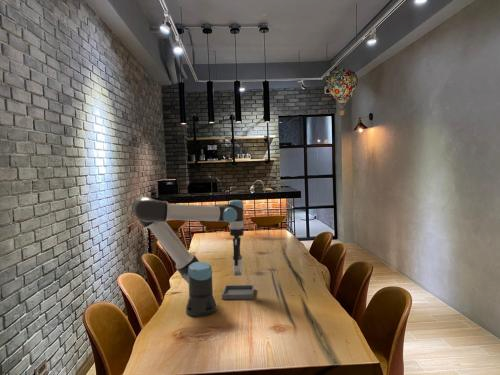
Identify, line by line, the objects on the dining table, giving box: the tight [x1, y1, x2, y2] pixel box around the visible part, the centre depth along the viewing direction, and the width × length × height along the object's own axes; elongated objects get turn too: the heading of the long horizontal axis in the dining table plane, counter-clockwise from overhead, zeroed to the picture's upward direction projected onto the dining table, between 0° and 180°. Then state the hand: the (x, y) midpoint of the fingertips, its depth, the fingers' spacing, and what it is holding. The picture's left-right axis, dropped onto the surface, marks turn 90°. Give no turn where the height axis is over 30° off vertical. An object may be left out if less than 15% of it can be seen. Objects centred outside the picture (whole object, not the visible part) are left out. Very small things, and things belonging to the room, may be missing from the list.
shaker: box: [232, 254, 243, 277], centre depth 206 cm, size 5×5×10 cm
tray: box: [221, 284, 255, 300], centre depth 207 cm, size 17×16×3 cm
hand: (237, 269), depth 206 cm, fingers closed on shaker, 5 cm apart
